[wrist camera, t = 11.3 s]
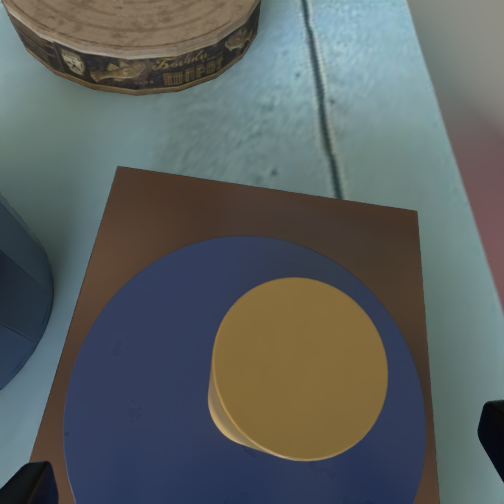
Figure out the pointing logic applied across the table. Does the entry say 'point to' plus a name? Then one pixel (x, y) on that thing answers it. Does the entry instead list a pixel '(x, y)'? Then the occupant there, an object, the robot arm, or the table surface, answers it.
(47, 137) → the table surface
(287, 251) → the lid
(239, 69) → the table surface
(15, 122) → the table surface
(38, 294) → the tin
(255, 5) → the brown flat disc
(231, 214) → the block
